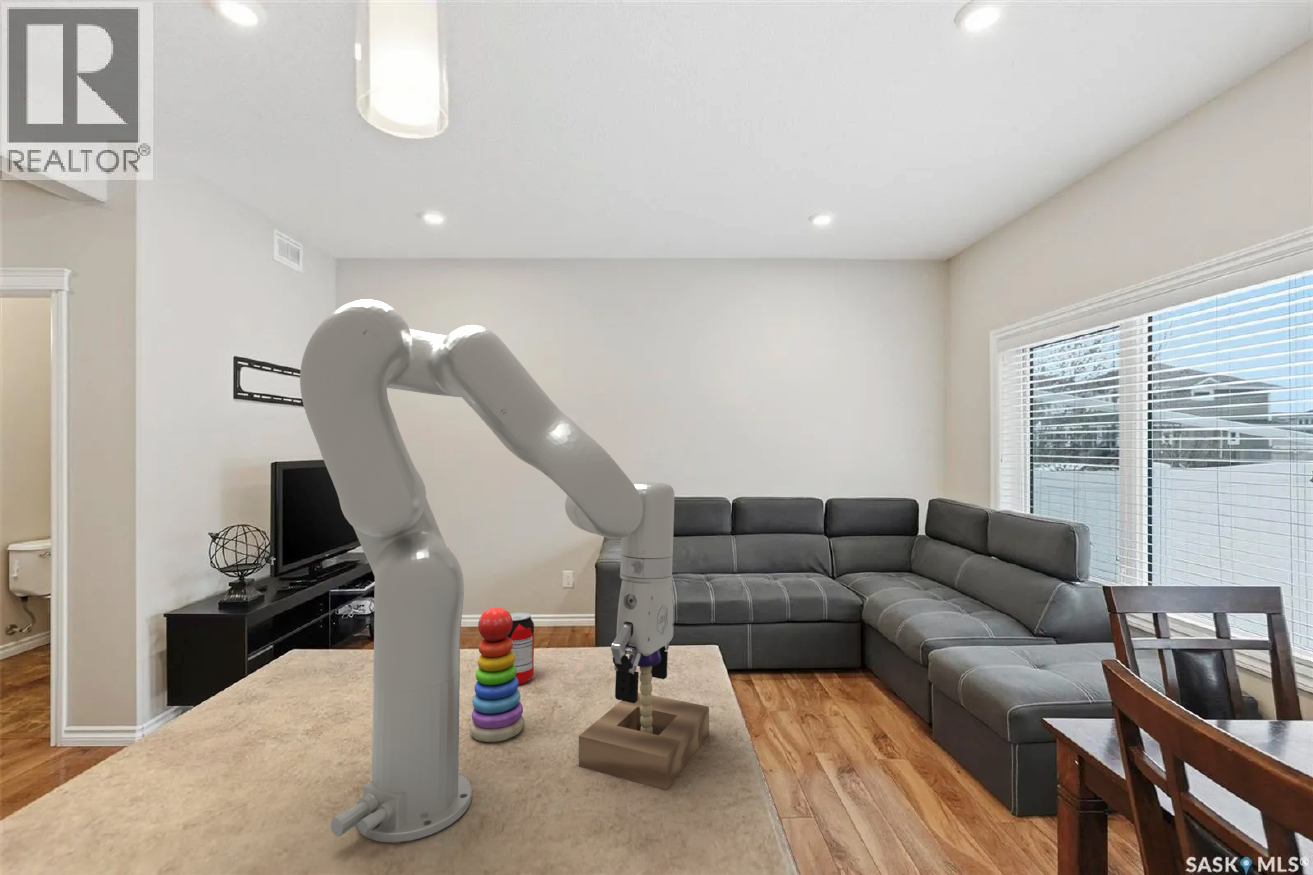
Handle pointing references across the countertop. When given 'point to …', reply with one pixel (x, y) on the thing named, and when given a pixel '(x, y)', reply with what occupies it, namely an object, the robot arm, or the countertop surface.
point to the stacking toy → (496, 681)
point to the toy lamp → (646, 688)
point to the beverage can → (523, 645)
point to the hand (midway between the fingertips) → (642, 688)
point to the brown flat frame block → (645, 741)
